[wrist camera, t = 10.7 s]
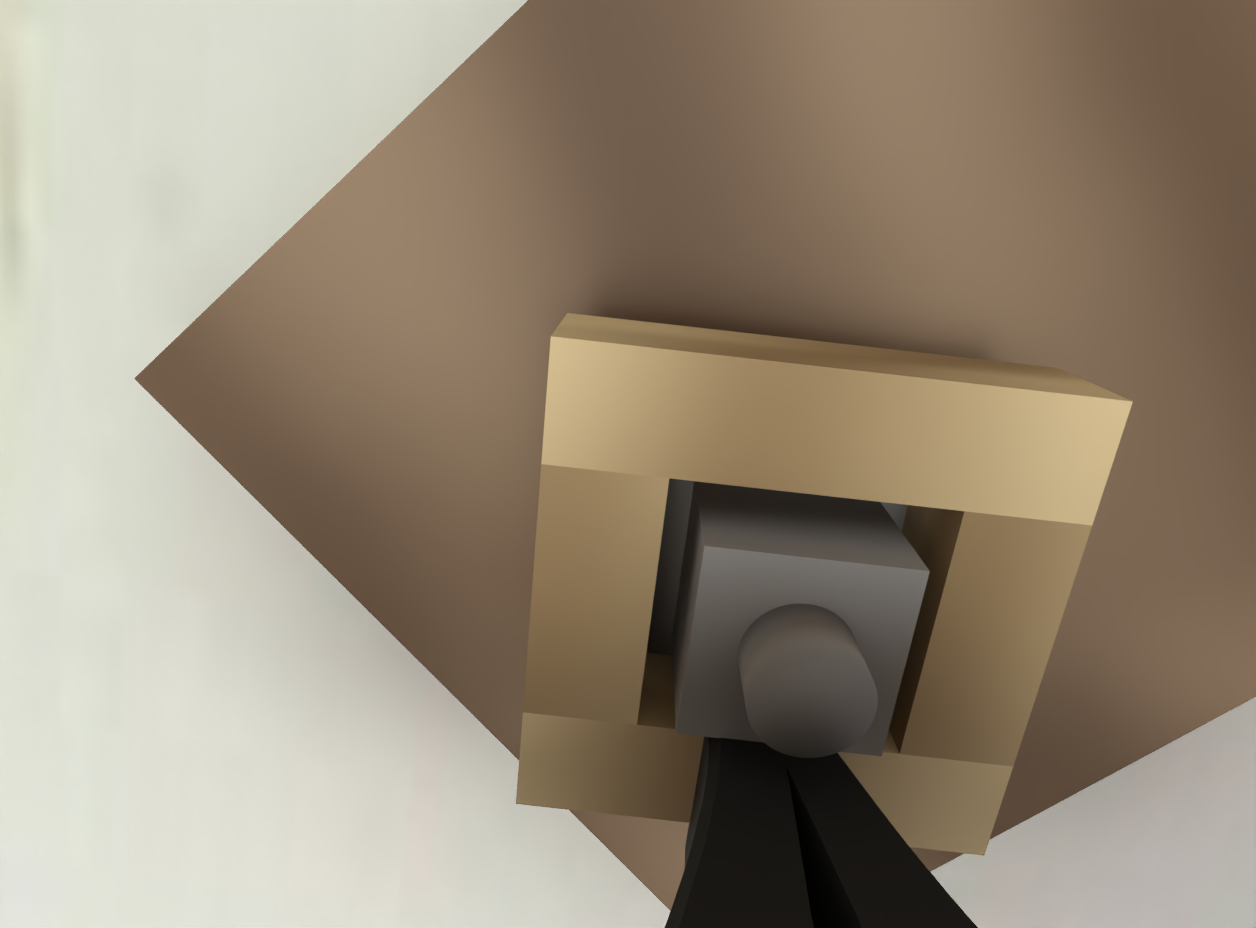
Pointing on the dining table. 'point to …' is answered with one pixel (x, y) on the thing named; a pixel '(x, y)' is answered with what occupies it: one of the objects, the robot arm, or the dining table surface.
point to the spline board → (785, 307)
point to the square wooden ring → (821, 465)
